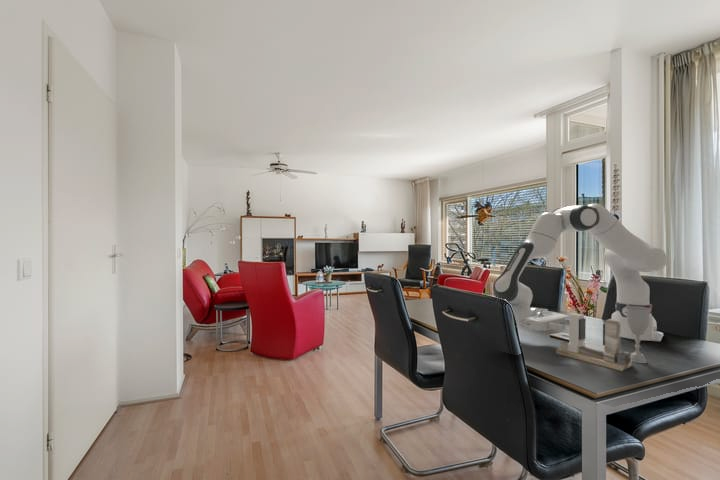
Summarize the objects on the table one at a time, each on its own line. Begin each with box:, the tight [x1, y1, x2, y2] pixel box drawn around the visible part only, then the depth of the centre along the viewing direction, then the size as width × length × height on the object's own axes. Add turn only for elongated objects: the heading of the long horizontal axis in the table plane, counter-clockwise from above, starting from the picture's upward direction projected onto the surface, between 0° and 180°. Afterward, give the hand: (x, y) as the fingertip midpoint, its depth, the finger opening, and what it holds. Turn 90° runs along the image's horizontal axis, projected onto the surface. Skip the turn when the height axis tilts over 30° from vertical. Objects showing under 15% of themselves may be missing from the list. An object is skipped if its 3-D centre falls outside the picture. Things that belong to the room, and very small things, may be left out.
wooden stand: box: [555, 318, 633, 372], centre depth 119 cm, size 8×20×14 cm, turn 34°
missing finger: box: [567, 312, 587, 353], centre depth 123 cm, size 6×4×13 cm, turn 124°
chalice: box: [625, 306, 652, 364], centre depth 119 cm, size 7×7×18 cm
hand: (569, 326), depth 125 cm, fingers open, 8 cm apart
